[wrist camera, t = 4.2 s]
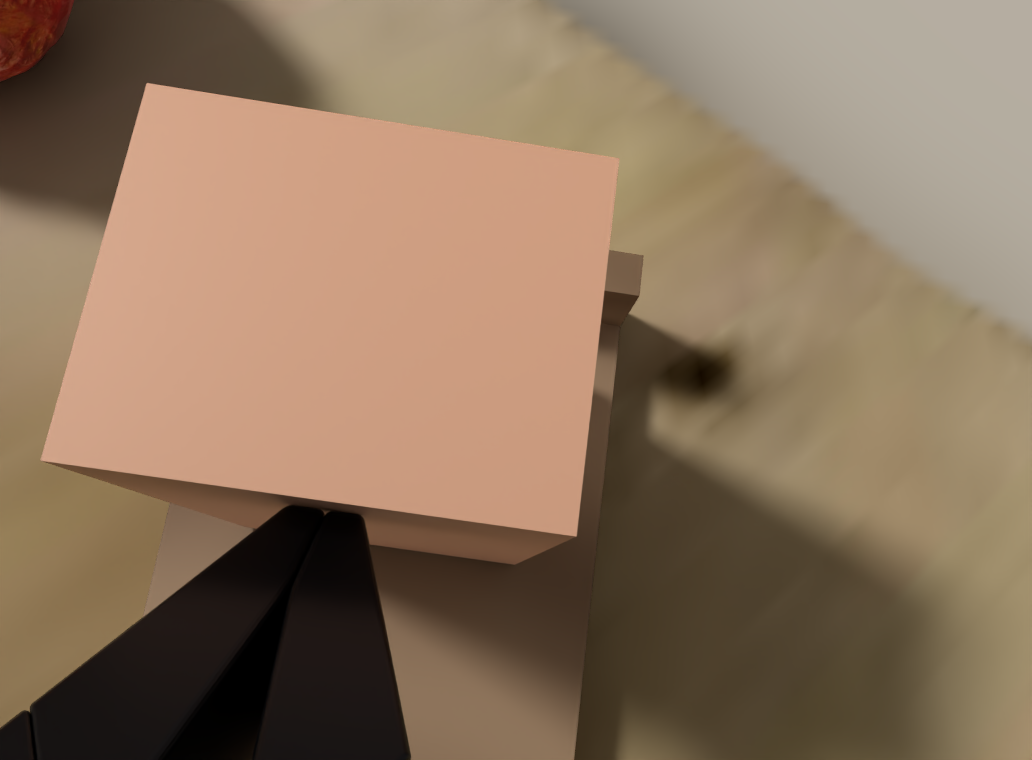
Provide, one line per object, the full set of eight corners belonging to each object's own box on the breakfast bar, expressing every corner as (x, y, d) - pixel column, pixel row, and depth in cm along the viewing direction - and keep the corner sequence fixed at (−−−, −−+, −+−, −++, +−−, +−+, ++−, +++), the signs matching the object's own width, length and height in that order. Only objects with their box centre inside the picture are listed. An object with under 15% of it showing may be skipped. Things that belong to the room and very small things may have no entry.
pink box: (514, 565, 16) (576, 537, 8) (246, 527, 15) (40, 460, 8) (542, 349, 17) (621, 139, 9) (292, 312, 17) (152, 64, 9)
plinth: (554, 865, 15) (575, 922, 13) (116, 809, 15) (43, 856, 12) (614, 305, 18) (643, 255, 16) (246, 249, 18) (210, 188, 15)
